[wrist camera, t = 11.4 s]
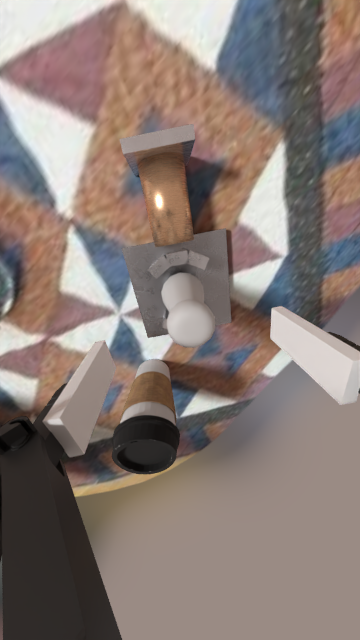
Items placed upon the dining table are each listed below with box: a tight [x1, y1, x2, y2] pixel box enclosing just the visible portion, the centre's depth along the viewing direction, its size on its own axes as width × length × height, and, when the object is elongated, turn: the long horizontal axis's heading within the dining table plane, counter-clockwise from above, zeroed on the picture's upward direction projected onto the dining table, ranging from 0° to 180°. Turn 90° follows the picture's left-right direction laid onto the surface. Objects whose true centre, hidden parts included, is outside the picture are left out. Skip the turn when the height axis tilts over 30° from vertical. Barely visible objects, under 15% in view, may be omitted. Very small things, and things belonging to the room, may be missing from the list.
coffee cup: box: [112, 359, 180, 474], centre depth 27 cm, size 8×8×15 cm
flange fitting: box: [120, 124, 231, 338], centre depth 23 cm, size 14×22×6 cm, turn 10°
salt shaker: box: [161, 273, 215, 348], centre depth 21 cm, size 6×6×13 cm
